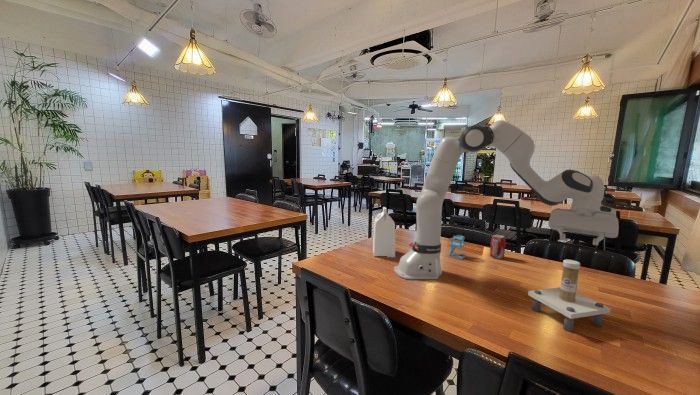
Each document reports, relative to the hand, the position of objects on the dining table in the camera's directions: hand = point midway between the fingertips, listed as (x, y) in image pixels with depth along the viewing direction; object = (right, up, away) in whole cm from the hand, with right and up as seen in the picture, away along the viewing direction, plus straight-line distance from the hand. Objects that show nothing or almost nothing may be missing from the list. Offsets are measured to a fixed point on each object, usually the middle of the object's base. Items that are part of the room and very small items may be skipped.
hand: (578, 241), depth 105 cm
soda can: (-1, -17, +55) cm, 58 cm away
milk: (-63, -16, +60) cm, 88 cm away
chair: (-23, -17, +56) cm, 63 cm away
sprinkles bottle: (-8, -19, -5) cm, 21 cm away
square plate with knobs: (-8, -25, -4) cm, 27 cm away
